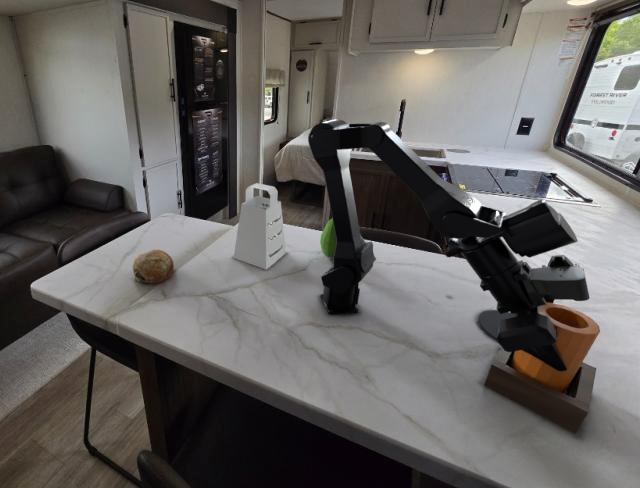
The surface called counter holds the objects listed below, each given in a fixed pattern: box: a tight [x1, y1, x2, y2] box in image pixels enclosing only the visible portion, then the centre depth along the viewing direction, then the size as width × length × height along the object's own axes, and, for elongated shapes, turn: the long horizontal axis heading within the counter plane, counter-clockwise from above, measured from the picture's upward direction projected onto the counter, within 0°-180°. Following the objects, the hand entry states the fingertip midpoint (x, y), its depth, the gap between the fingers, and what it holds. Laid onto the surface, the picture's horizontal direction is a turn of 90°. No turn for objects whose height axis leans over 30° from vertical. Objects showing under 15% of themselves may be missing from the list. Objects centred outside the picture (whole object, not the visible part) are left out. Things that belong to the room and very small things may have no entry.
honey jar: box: [508, 302, 601, 394], centre depth 52 cm, size 7×7×13 cm
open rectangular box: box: [483, 346, 597, 435], centre depth 54 cm, size 11×11×4 cm
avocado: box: [319, 218, 336, 260], centre depth 90 cm, size 8×8×12 cm
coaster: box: [477, 309, 517, 341], centre depth 67 cm, size 11×11×1 cm
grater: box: [233, 182, 287, 270], centre depth 90 cm, size 10×10×20 cm
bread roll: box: [132, 249, 174, 284], centre depth 85 cm, size 10×10×8 cm
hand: (562, 355), depth 51 cm, fingers closed on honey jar, 7 cm apart
